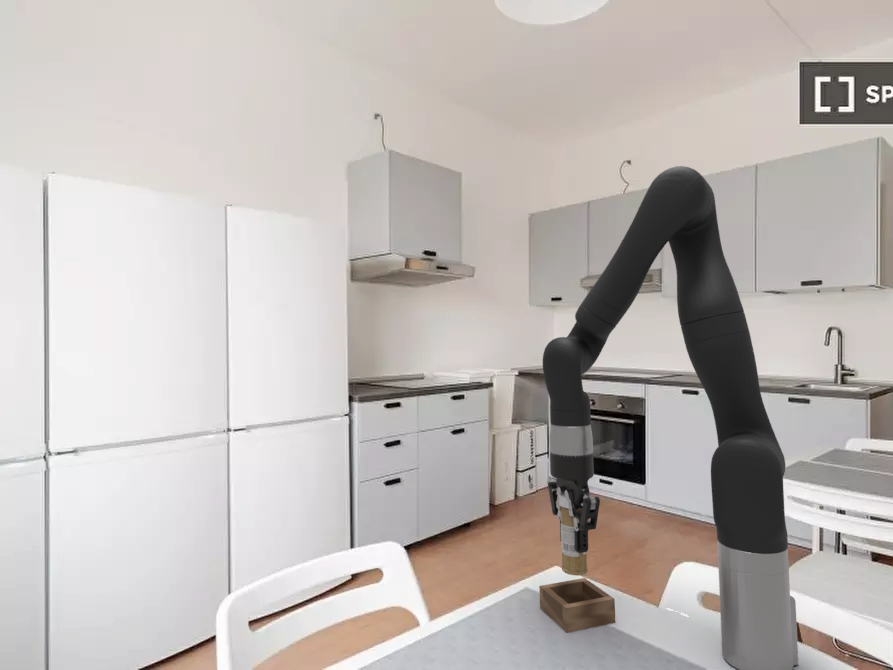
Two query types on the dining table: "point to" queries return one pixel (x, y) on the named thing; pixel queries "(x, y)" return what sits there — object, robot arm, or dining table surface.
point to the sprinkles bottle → (570, 542)
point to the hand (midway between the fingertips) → (573, 546)
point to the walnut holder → (577, 604)
